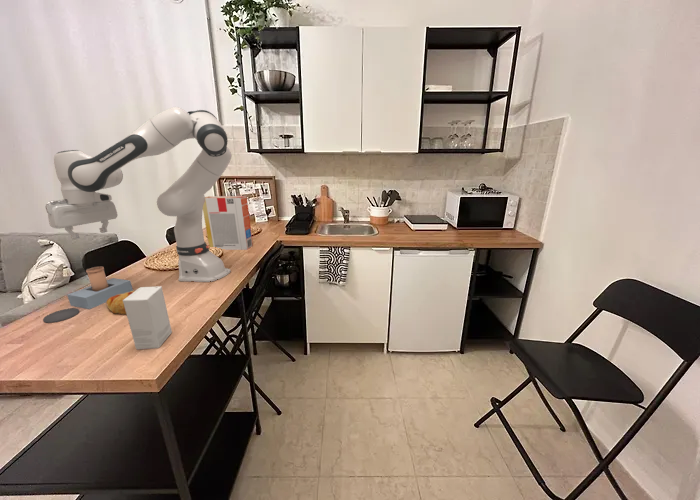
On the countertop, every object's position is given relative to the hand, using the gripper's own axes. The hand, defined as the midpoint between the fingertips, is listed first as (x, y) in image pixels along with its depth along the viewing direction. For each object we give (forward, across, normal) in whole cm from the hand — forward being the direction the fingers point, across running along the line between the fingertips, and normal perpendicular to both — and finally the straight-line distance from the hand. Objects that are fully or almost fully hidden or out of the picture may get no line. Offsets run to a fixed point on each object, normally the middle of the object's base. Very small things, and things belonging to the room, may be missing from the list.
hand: (90, 235), depth 110 cm
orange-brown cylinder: (+24, -2, -2) cm, 24 cm away
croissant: (+24, -5, -21) cm, 33 cm away
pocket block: (+24, -2, -2) cm, 24 cm away
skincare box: (+24, -18, -48) cm, 57 cm away
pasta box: (+24, +67, -5) cm, 71 cm away
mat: (+24, -16, -4) cm, 29 cm away
